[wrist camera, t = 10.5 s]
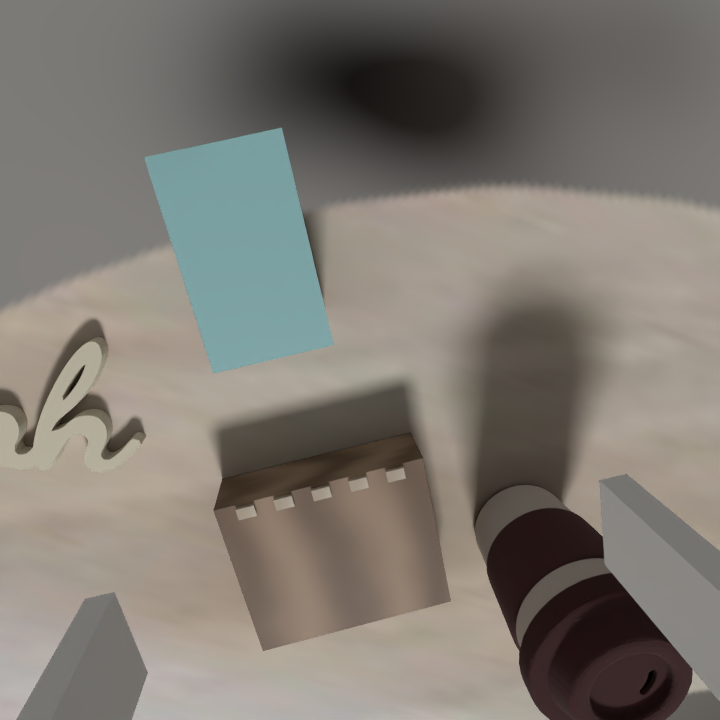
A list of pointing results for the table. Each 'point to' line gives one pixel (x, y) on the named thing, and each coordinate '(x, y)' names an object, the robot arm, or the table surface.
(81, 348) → the decorative sign
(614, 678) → the coffee cup
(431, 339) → the table surface
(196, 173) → the light teal block
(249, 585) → the brown block
